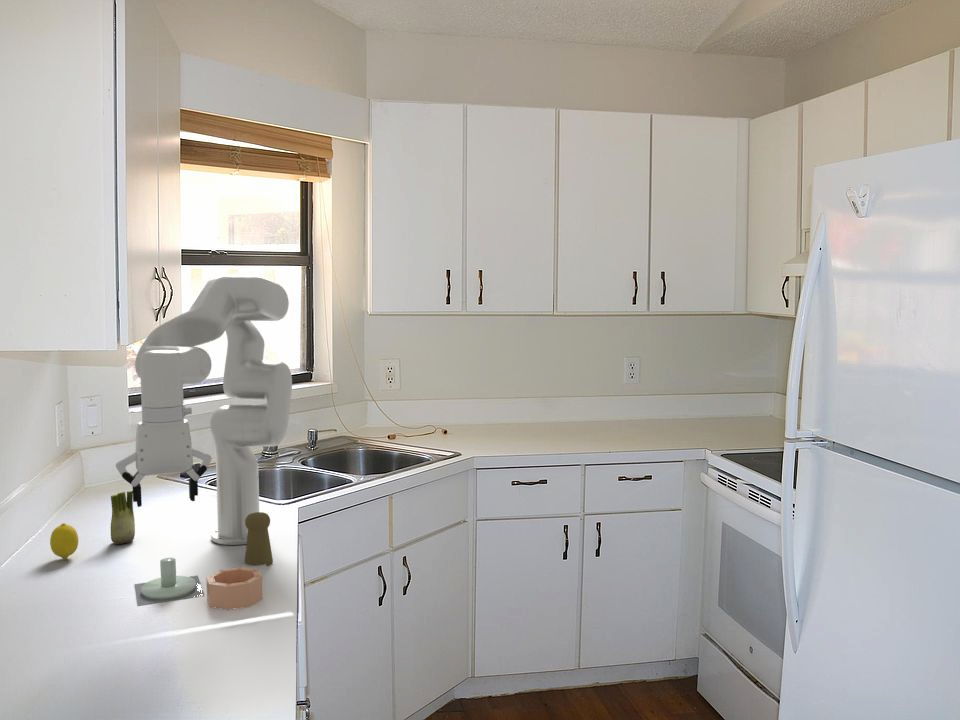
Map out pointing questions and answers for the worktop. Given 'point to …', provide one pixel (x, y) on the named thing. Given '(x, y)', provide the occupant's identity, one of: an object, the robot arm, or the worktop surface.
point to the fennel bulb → (122, 518)
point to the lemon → (64, 541)
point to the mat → (145, 601)
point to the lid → (168, 583)
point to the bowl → (234, 588)
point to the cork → (258, 540)
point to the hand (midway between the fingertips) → (166, 502)
